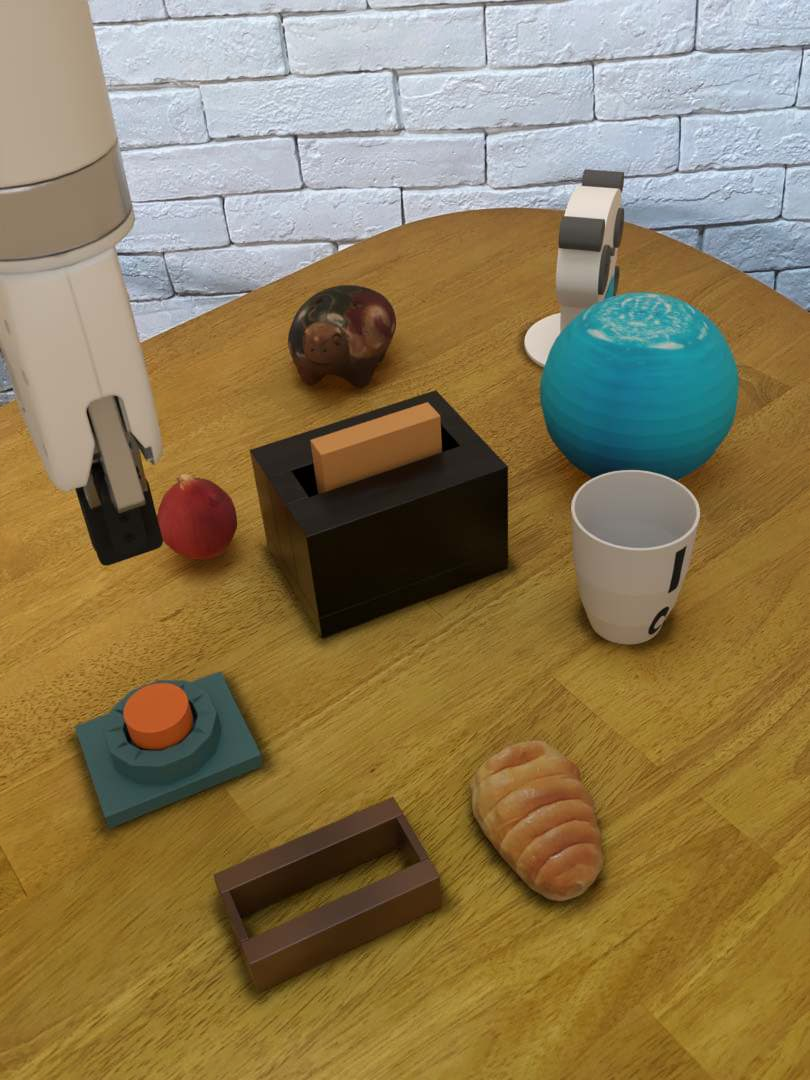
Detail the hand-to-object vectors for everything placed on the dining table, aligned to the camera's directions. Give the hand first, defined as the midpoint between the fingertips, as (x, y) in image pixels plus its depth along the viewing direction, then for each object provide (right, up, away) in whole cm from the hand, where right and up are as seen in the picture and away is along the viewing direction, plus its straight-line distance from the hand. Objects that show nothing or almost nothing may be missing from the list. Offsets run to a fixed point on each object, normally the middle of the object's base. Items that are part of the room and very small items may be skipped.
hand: (128, 547), depth 56 cm
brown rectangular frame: (+10, -20, +7) cm, 24 cm away
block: (-1, -13, +16) cm, 21 cm away
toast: (+12, +1, +28) cm, 30 cm away
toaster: (+12, -1, +29) cm, 32 cm away
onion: (-1, -1, +31) cm, 31 cm away
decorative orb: (+32, +6, +36) cm, 48 cm away
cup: (+29, -5, +23) cm, 37 cm away
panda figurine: (+31, +18, +50) cm, 62 cm away
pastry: (+22, -17, +10) cm, 29 cm away
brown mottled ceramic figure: (+8, +16, +50) cm, 53 cm away
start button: (-1, -11, +14) cm, 18 cm away
